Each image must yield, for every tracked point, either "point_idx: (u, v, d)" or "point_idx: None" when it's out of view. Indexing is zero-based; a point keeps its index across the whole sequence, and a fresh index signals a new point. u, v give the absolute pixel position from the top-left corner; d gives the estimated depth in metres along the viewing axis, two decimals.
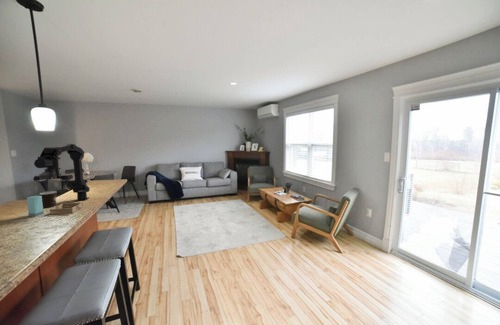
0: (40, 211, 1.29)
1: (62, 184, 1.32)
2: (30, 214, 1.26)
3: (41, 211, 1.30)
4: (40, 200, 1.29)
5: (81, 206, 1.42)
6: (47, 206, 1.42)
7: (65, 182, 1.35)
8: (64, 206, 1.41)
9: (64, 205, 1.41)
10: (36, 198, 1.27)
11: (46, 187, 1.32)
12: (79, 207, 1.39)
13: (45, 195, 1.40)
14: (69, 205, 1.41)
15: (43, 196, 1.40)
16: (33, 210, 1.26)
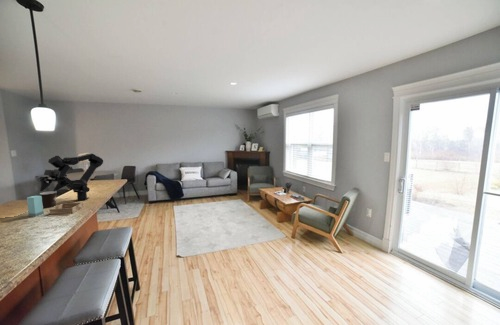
0: (40, 211, 1.29)
1: (57, 185, 1.36)
2: (30, 214, 1.26)
3: (41, 211, 1.30)
4: (40, 200, 1.29)
5: (81, 206, 1.42)
6: (47, 206, 1.42)
7: (61, 185, 1.39)
8: (64, 206, 1.41)
9: (64, 205, 1.41)
10: (36, 198, 1.27)
11: (43, 188, 1.37)
12: (79, 207, 1.39)
13: (45, 195, 1.40)
14: (69, 205, 1.41)
15: (43, 196, 1.40)
16: (33, 210, 1.26)
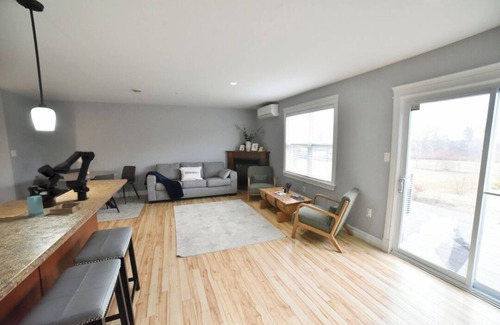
0: (40, 211, 1.29)
1: (46, 195, 1.30)
2: (30, 214, 1.26)
3: (41, 211, 1.30)
4: (40, 200, 1.29)
5: (81, 206, 1.42)
6: (47, 206, 1.42)
7: (51, 196, 1.32)
8: (64, 206, 1.41)
9: (64, 205, 1.41)
10: (36, 198, 1.27)
11: None
12: (79, 207, 1.39)
13: (45, 195, 1.40)
14: (69, 205, 1.41)
15: (43, 196, 1.40)
16: (33, 210, 1.26)
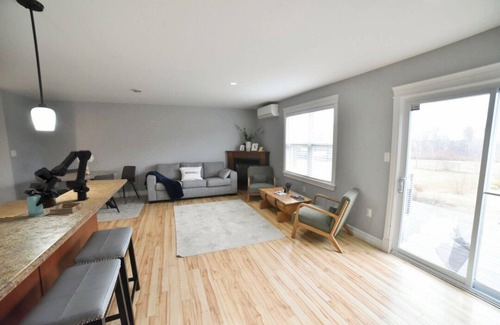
0: (40, 211, 1.29)
1: (40, 199, 1.28)
2: (30, 214, 1.26)
3: (41, 211, 1.30)
4: None
5: (81, 206, 1.42)
6: (47, 206, 1.42)
7: (45, 199, 1.30)
8: (64, 206, 1.41)
9: (64, 205, 1.41)
10: (36, 198, 1.27)
11: None
12: (79, 207, 1.39)
13: None
14: (69, 205, 1.41)
15: None
16: (33, 210, 1.26)
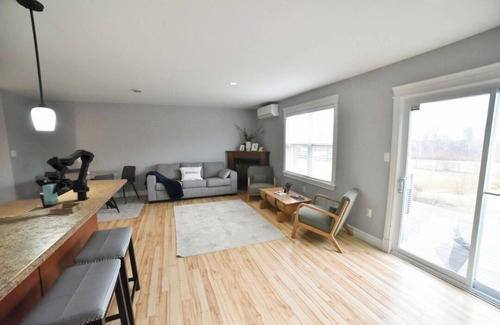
0: (55, 199, 1.32)
1: (56, 187, 1.31)
2: (46, 202, 1.29)
3: (56, 199, 1.33)
4: None
5: (81, 206, 1.42)
6: (47, 206, 1.42)
7: (59, 187, 1.34)
8: (64, 206, 1.41)
9: (64, 205, 1.41)
10: (52, 186, 1.30)
11: None
12: (79, 207, 1.39)
13: None
14: (69, 205, 1.41)
15: (43, 196, 1.40)
16: (50, 198, 1.29)
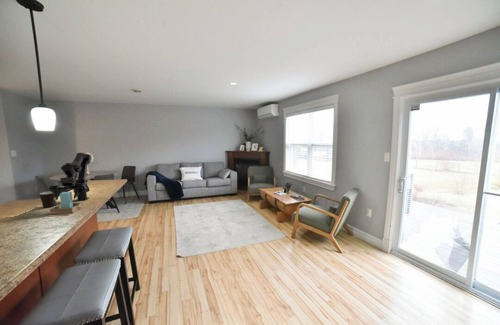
0: (71, 206, 1.38)
1: (76, 191, 1.38)
2: None
3: (72, 206, 1.38)
4: (71, 196, 1.38)
5: (81, 206, 1.42)
6: (47, 206, 1.42)
7: (78, 192, 1.40)
8: None
9: None
10: (69, 193, 1.35)
11: (57, 196, 1.34)
12: (79, 207, 1.39)
13: (45, 195, 1.40)
14: None
15: (43, 196, 1.40)
16: (67, 205, 1.35)
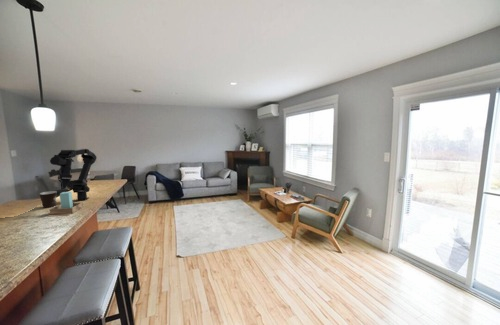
0: (71, 206, 1.38)
1: (61, 182, 1.38)
2: None
3: (72, 206, 1.38)
4: (71, 196, 1.38)
5: (81, 206, 1.42)
6: (47, 206, 1.42)
7: (66, 181, 1.40)
8: None
9: None
10: (69, 193, 1.35)
11: None
12: (79, 207, 1.39)
13: (45, 195, 1.40)
14: None
15: (43, 196, 1.40)
16: (67, 205, 1.35)
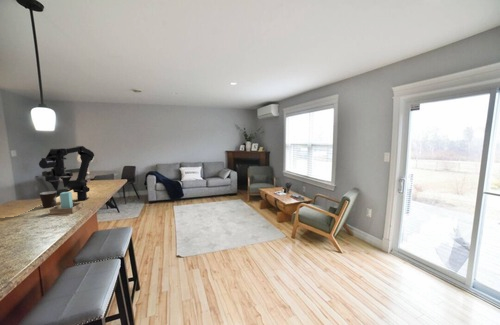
0: (71, 206, 1.38)
1: None
2: None
3: (72, 206, 1.38)
4: (71, 196, 1.38)
5: (81, 206, 1.42)
6: (47, 206, 1.42)
7: (56, 183, 1.38)
8: None
9: None
10: (69, 193, 1.35)
11: (65, 183, 1.48)
12: (79, 207, 1.39)
13: (45, 195, 1.40)
14: None
15: (43, 196, 1.40)
16: (67, 205, 1.35)
